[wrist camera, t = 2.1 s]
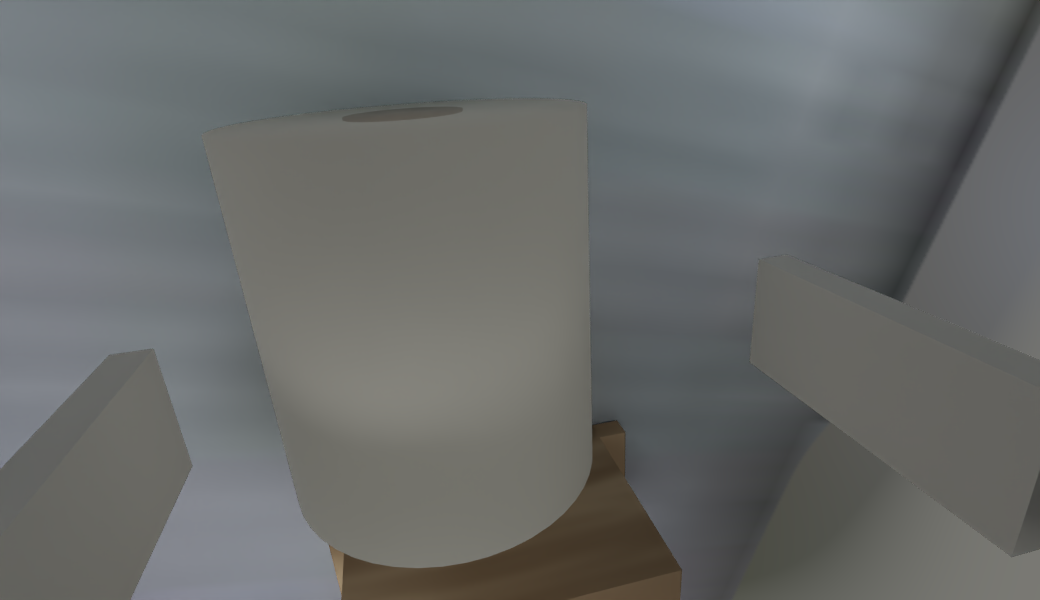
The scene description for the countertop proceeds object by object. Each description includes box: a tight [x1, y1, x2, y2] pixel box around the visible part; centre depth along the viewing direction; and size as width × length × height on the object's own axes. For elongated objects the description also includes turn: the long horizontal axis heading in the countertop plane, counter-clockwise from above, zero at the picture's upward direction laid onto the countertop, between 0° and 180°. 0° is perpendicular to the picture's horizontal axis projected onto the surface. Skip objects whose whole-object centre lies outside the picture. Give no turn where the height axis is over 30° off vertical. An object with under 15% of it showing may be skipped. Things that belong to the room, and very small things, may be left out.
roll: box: [201, 98, 592, 568], centre depth 14 cm, size 9×8×8 cm
